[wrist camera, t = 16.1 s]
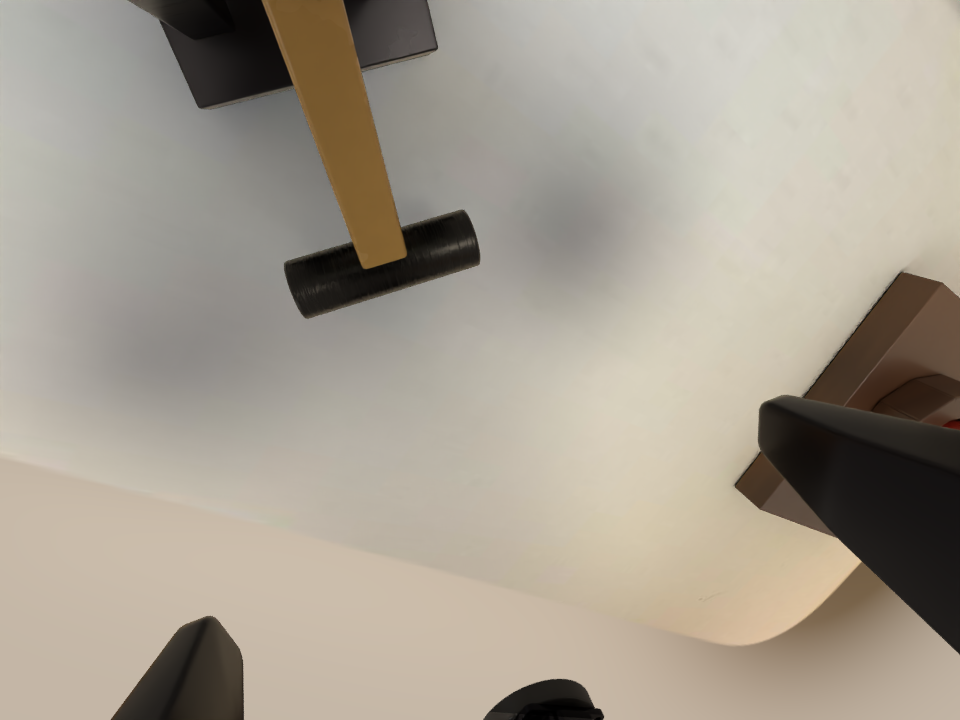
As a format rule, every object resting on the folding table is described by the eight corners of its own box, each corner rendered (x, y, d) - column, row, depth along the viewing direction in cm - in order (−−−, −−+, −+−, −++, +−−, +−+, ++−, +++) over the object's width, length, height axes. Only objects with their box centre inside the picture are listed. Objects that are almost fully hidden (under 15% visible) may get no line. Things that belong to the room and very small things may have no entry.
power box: (842, 528, 29) (902, 576, 26) (733, 486, 25) (790, 537, 22) (995, 353, 26) (1084, 383, 23) (901, 271, 22) (994, 295, 19)
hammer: (458, 227, 14) (489, 289, 13) (298, 275, 13) (314, 346, 12) (344, -698, 5) (418, -799, 3) (-221, -675, 4) (-386, -789, 3)
